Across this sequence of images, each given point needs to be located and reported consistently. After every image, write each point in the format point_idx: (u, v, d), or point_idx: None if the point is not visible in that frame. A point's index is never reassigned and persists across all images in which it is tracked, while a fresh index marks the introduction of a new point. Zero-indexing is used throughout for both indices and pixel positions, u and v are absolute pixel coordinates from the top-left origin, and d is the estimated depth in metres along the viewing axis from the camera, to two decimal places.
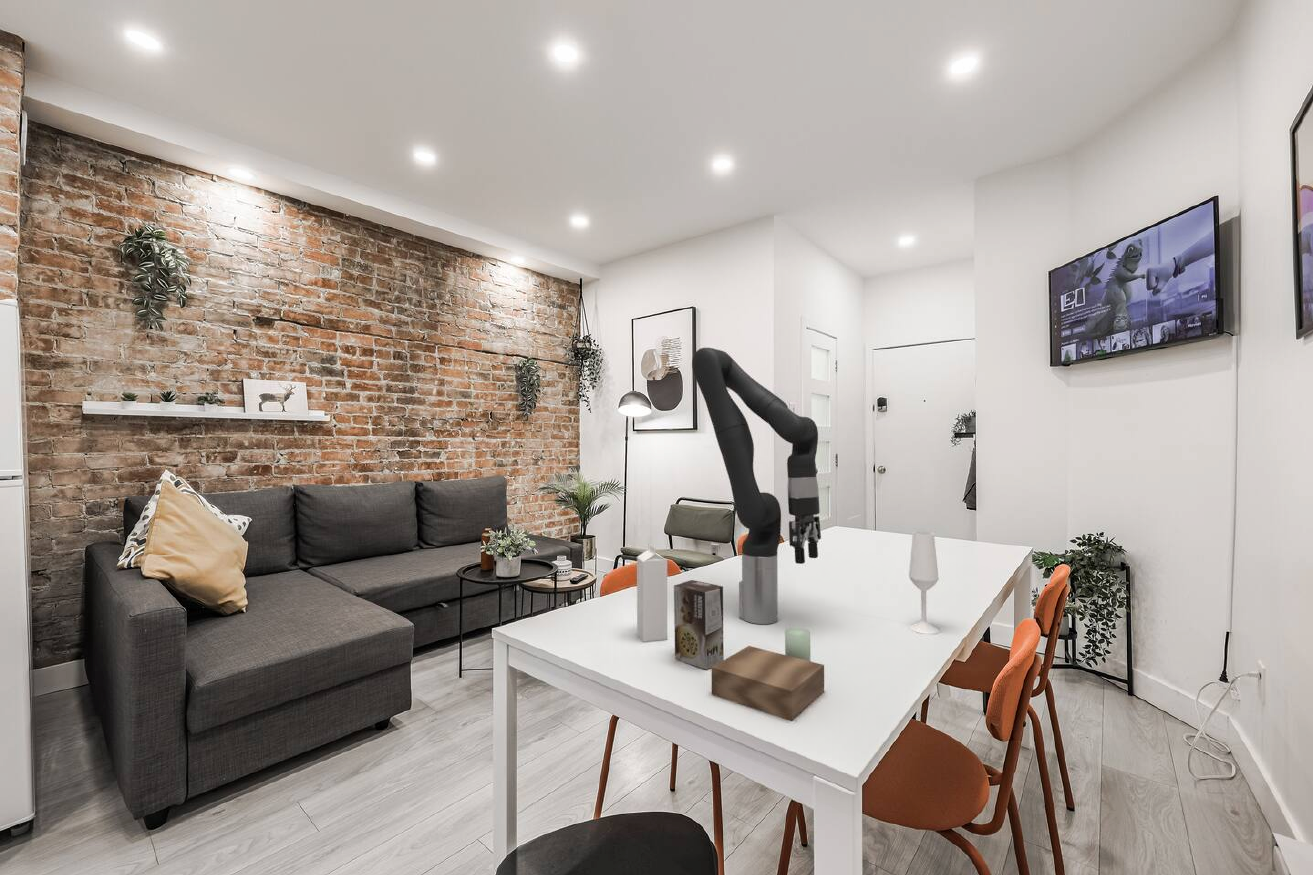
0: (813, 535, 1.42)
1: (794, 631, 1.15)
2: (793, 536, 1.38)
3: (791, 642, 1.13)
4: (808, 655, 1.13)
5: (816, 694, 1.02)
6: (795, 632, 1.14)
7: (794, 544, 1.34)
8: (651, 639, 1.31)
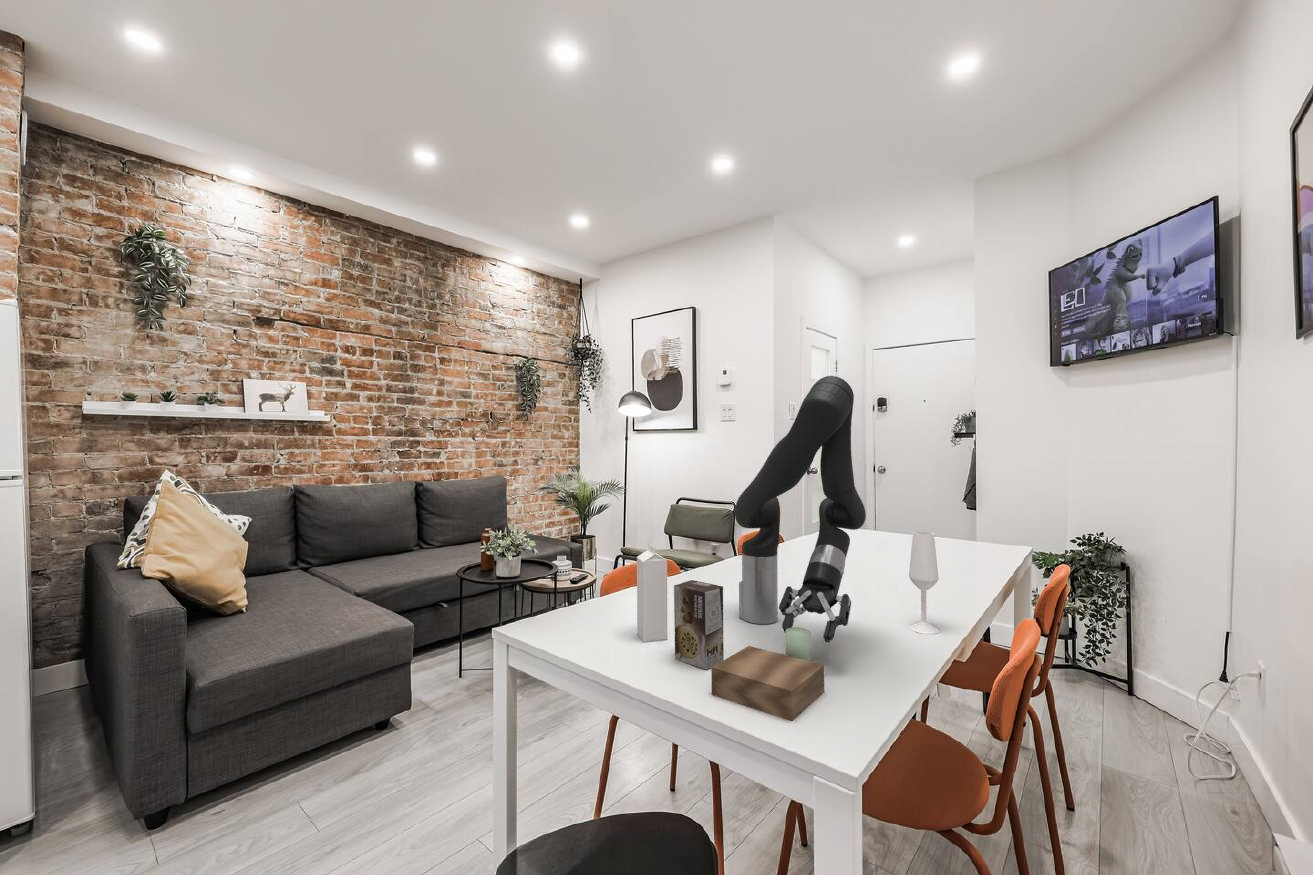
0: (801, 611, 1.20)
1: (795, 631, 1.15)
2: (830, 608, 1.15)
3: (791, 642, 1.13)
4: (808, 655, 1.13)
5: (816, 694, 1.02)
6: (795, 632, 1.14)
7: (845, 620, 1.13)
8: (651, 639, 1.31)
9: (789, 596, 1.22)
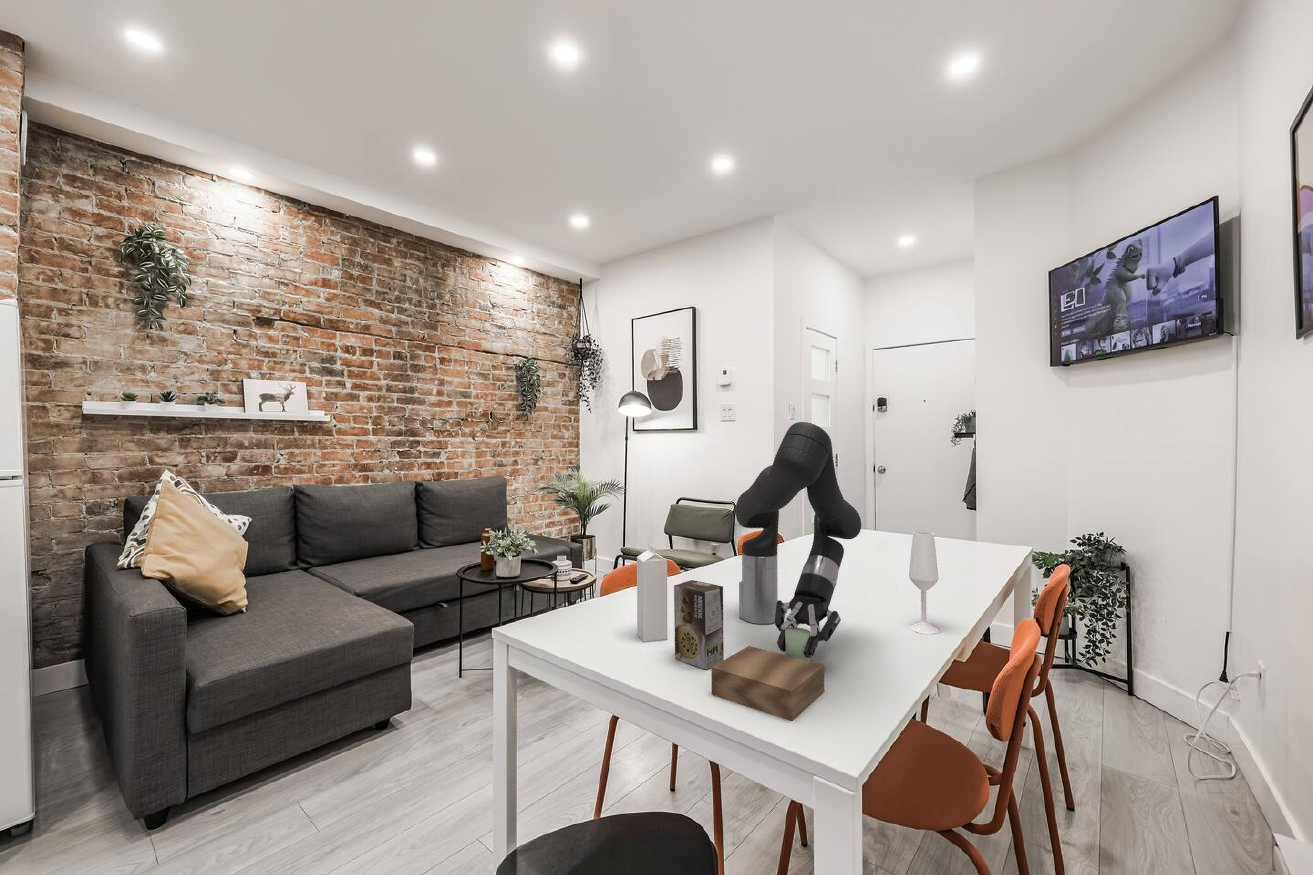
0: (795, 625, 1.18)
1: (794, 631, 1.15)
2: (815, 623, 1.14)
3: (791, 642, 1.13)
4: None
5: (816, 694, 1.02)
6: (795, 632, 1.14)
7: (827, 636, 1.12)
8: (651, 639, 1.31)
9: (781, 610, 1.20)
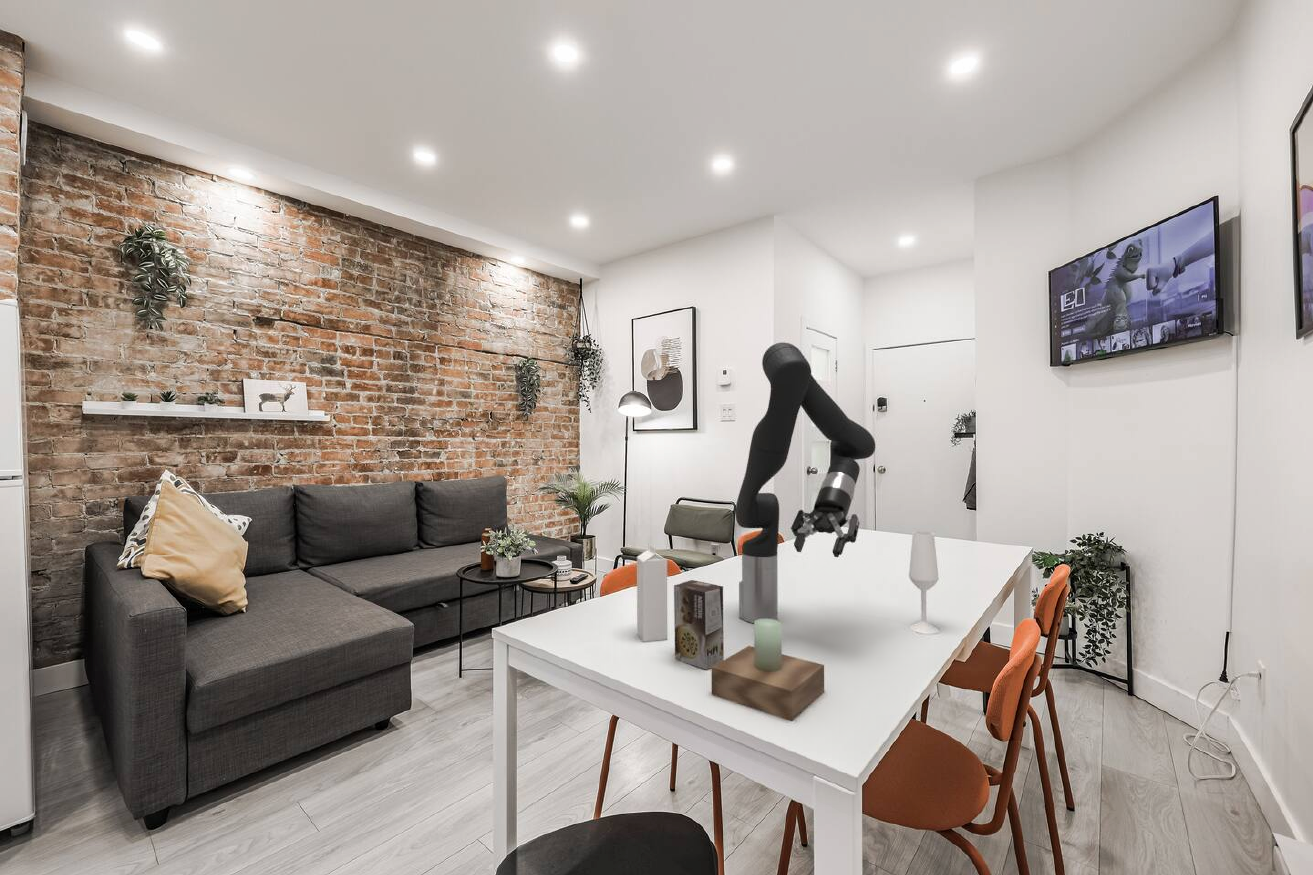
0: (812, 532, 1.28)
1: (764, 622, 1.05)
2: (839, 526, 1.23)
3: (760, 634, 1.03)
4: (779, 648, 1.03)
5: (816, 694, 1.02)
6: (764, 623, 1.04)
7: (853, 537, 1.21)
8: (651, 639, 1.31)
9: (801, 518, 1.30)
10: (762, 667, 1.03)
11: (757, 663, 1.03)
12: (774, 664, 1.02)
